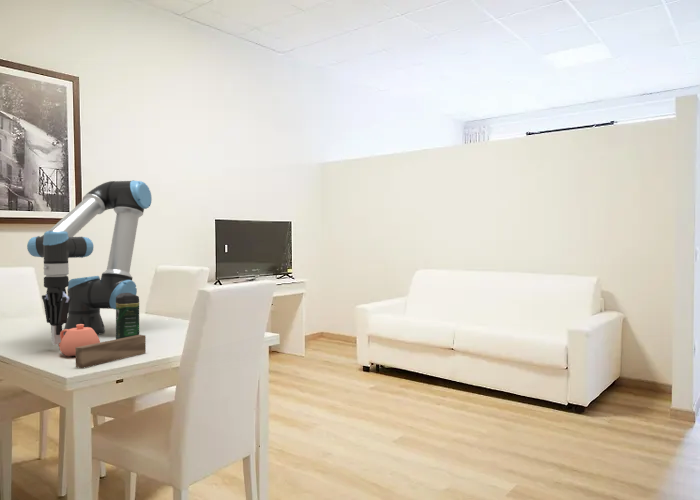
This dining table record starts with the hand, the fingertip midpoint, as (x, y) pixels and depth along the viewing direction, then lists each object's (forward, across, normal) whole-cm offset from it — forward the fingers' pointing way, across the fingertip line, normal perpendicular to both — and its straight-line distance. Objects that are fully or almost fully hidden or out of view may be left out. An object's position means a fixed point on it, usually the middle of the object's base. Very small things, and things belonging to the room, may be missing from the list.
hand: (56, 343), depth 186 cm
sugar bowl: (+3, +11, 0) cm, 11 cm away
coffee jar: (+3, +9, +22) cm, 24 cm away
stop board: (+3, +28, 0) cm, 28 cm away
